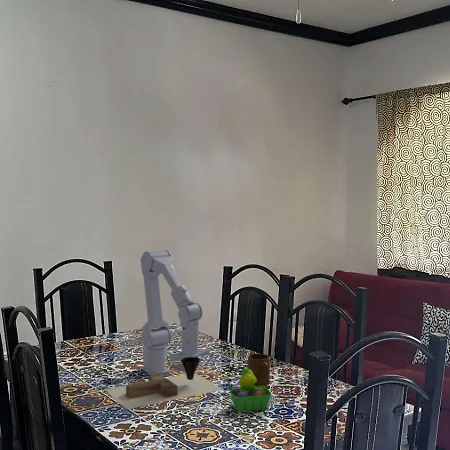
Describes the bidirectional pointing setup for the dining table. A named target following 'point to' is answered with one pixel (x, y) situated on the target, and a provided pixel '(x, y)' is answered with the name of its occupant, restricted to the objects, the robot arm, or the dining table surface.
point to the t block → (152, 387)
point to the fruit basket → (249, 393)
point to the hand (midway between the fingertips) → (190, 378)
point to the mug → (260, 368)
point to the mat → (184, 390)
